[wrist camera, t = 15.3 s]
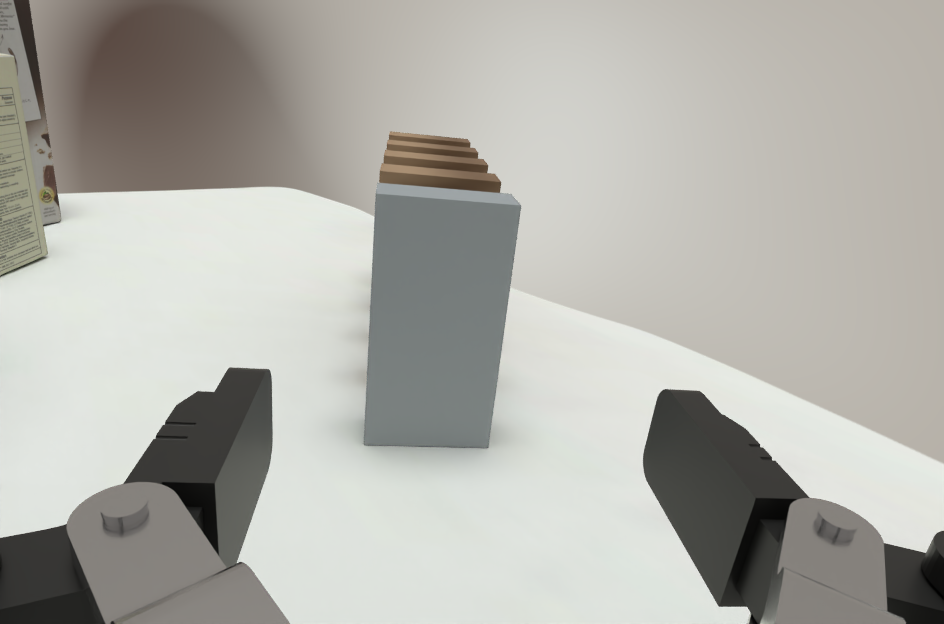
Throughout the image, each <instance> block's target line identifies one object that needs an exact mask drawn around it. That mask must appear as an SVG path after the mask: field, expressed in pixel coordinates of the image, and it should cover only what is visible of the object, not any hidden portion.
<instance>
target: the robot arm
mask: <svg viewBox="0 0 944 624" xmlns="http://www.w3.org/2000/svg"><path fill="white" fill-rule="evenodd" d="M271 453H272V379H271V373H270V370H269V369H250V368H229V369H228V370H227V372H226V373H225V375H224V377H223V378H222V380H221V382H220V383H219V385H218V387H217V389H216V390H215V392H201V391H198V392H196V393H194V394H193V395H191V396H190V397H188V398H187V399H185V400H184V401H182V402H181V403H179V404H178V405H176V407H175V408H174V410H173V411H172V413H171V414H170V416H169V417H168V419H167V420H166V422H165V425H163V426H162V427H161V429H160V430H159V432H158V433H157V435H156V439H153V441H152V442H151V444H150V445H149V447H148V448H147V450H146V451H145V453H144V454H143V456H142V457H141V458H140V460H139V461H138V463H137V464H136V466H135V467H134V469H133V470H132V472H131V473H130V475H129V476H128V478H127V479H126V481H125V482H124V484H121V485H118V486H114V487H111V488H108V489H105V490H103V491H101V492H99V493H96V494H94V495H93V496H91V497H89V498H88V499H86V500H85V501H84V502H82V503H81V504H80V505H79V506H78V507H77V508H76V509H75V510H74V511H73V512H72V514H71V515H70V517H69V519H68V522H67V524H66V525H62V526H59V527H55V528H51V529H46V530H41V531H35V532H30V533H25V534H19V535H14V536H9V537H3V538H0V624H290V623H289V621H288V620H287V619H286V617H285V616H284V614H283V613H282V612H281V610H280V609H279V607H278V606H277V605H276V603H275V602H274V600H273V599H272V598H271V596H270V595H269V593H268V592H267V591H266V589H265V588H264V586H263V585H262V584H261V582H260V581H259V579H258V578H257V577H256V575H255V574H254V572H253V571H252V570H251V569H250V568H249V567H248V566H247V565H246V564H245V563H243V562H239V563H237V560H238V557H239V554H240V551H241V548H242V545H243V542H244V539H245V536H246V534H247V531H248V528H249V525H250V522H251V519H252V516H253V513H254V510H255V507H256V504H257V501H258V498H259V496H260V493H261V490H262V487H263V484H264V481H265V478H266V475H267V472H268V469H269V465H270V460H271ZM643 467H644V473H645V477H646V480H647V482H648V484H649V486H650V487H651V489H652V491H653V493H654V494H655V496H656V498H657V500H658V501H659V503H660V505H661V507H662V508H663V510H664V512H665V514H666V515H667V517H668V519H669V521H670V522H671V524H672V526H673V527H674V529H675V531H676V533H677V534H678V536H679V538H680V540H681V541H682V543H683V545H684V547H685V548H686V550H687V552H688V554H689V555H690V557H691V559H692V561H693V562H694V564H695V566H696V568H697V569H698V571H699V573H700V574H701V576H702V578H703V580H704V581H705V583H706V585H707V587H708V588H709V590H710V592H711V594H712V595H713V597H714V599H715V601H716V602H717V604H718V606H719V607H748V609H749V610H750V612H751V613H750V616H749V618H748V621H747V624H944V531H941V532H938V533H937V534H936V535H935V536H934V538H933V540H932V542H931V544H930V546H929V548H928V550H927V552H926V553H923V552H919V551H915V550H911V549H906V548H902V547H898V546H894V545H890V544H885V543H883V539H882V537H881V535H880V534H879V533H878V531H877V530H876V529H875V528H874V527H873V526H872V525H871V524H870V523H869V522H868V521H866V520H865V519H864V518H862V517H861V516H859V515H858V514H856V513H854V512H853V511H851V510H849V509H847V508H845V507H843V506H840V505H838V504H835V503H832V502H829V501H825V500H821V499H815V498H809V497H808V496H807V495H806V493H805V492H804V491H803V490H802V489H801V488H800V487H799V486H798V485H797V484H796V483H795V482H794V481H793V479H792V478H791V477H790V476H789V475H788V474H787V473H786V472H785V471H784V470H783V469H782V468H781V466H780V465H779V464H778V463H777V462H776V461H772V457H771V456H770V455H769V454H768V452H767V451H766V450H765V449H764V448H761V447H760V444H759V443H758V442H757V441H756V440H755V438H754V437H753V436H752V435H751V434H750V433H749V432H748V431H747V430H746V429H745V428H744V427H742V426H740V425H739V424H737V423H736V422H734V421H733V420H731V419H729V418H728V417H726V416H725V415H722V414H721V413H720V412H719V411H718V410H717V409H716V408H715V407H714V405H713V404H712V403H711V402H710V401H709V400H708V399H707V398H706V397H705V395H704V394H703V393H702V392H700V391H690V390H669V389H665V390H663V391H661V393H660V394H659V396H658V398H657V401H656V405H655V409H654V413H653V417H652V421H651V425H650V429H649V433H648V437H647V441H646V445H645V449H644V455H643ZM236 563H237V564H236Z"/></svg>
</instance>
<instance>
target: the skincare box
mask: <svg viewBox="0 0 944 624" xmlns="http://www.w3.org/2000/svg"><path fill="white" fill-rule="evenodd" d="M47 254H48V251H47V245H46V240H45V234H44V228H43V222H42V217H41V211H40V205H39V199H38V193H37V188H36V181H35V176H34V170H33V165H32V158H31V153H30V147H29V141H28V135H27V129H26V123H25V118H24V111H23V106H22V100H21V94H20V89H19V83H18V77H17V71H16V65H15V59H14V56H12V55H8V54H2V53H0V275H2V274H4V273H6V272H9V271H11V270H13V269H15V268H18V267H20V266H23V265H25V264H27V263H30V262H32V261H34V260H36V259H38V258H41V257H43V256H45V255H47Z"/></svg>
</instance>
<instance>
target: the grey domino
mask: <svg viewBox="0 0 944 624" xmlns="http://www.w3.org/2000/svg"><path fill="white" fill-rule="evenodd" d="M520 211H521V205H520V204H519V202H518V201H517V200H516V199H515V198H514V197H513V196H512V194H504V193H493V192H481V191H470V190H458V189H446V188H434V187H422V186H411V185H399V184H387V183H377V189H376V202H375V221H374V242H373V263H372V284H371V305H370V326H369V347H368V368H367V389H366V410H365V431H364V445H385V446H429V447H473V448H488V445H489V437H490V430H491V423H492V415H493V408H494V401H495V393H496V386H497V379H498V372H499V364H500V357H501V350H502V342H503V335H504V328H505V320H506V313H507V306H508V298H509V291H510V284H511V276H512V269H513V262H514V254H515V247H516V240H517V232H518V225H519V217H520Z"/></svg>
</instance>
